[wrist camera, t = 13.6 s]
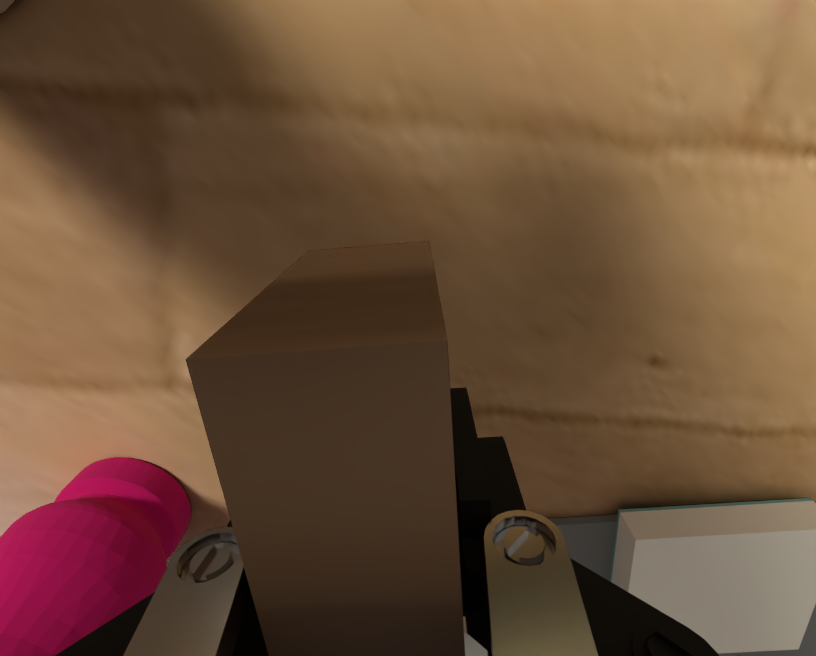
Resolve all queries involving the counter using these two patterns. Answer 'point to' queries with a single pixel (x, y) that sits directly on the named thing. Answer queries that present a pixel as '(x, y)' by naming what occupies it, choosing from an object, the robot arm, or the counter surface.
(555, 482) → the counter surface
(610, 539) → the tile mat
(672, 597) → the tile
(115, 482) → the pepper mill
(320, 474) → the wooden handled spatula
